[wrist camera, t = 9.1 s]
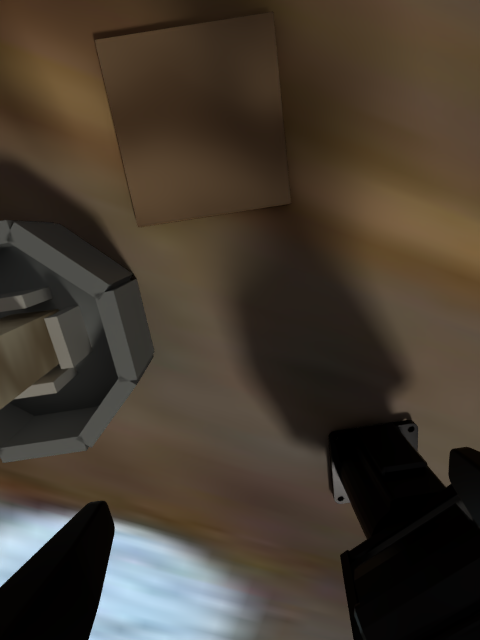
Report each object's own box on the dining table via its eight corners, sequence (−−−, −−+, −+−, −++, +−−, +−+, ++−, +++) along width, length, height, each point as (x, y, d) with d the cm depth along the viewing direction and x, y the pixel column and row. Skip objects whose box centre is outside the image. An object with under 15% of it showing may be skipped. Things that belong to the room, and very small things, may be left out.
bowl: (167, 403, 22) (153, 440, 18) (-13, 430, 22) (-64, 472, 18) (120, 212, 18) (90, 207, 14) (-96, 245, 18) (-183, 249, 14)
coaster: (289, 204, 18) (291, 203, 18) (141, 227, 18) (138, 226, 18) (271, 19, 16) (273, 11, 15) (99, 46, 16) (94, 39, 15)
